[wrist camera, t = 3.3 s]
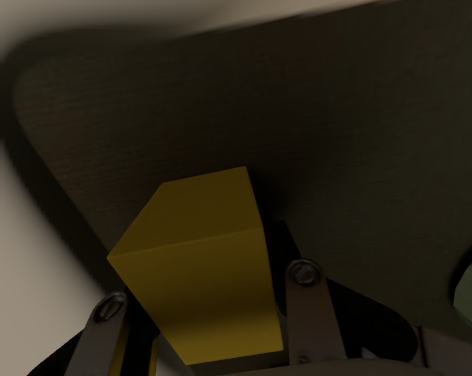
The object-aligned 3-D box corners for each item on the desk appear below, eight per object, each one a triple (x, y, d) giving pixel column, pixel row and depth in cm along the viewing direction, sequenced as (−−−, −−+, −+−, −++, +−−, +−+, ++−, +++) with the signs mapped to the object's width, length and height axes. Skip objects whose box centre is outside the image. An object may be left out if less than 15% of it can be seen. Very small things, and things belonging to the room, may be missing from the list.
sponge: (161, 182, 10) (105, 258, 5) (245, 165, 9) (263, 227, 5) (199, 271, 13) (185, 365, 8) (263, 259, 12) (284, 350, 8)
